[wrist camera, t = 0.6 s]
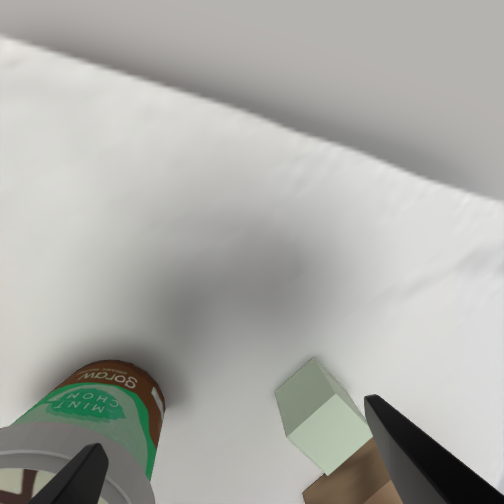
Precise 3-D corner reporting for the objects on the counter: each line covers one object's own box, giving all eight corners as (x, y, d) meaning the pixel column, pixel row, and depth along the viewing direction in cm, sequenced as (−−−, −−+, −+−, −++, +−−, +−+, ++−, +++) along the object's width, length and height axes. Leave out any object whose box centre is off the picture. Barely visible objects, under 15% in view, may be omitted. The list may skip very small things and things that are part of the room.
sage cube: (307, 423, 24) (327, 476, 19) (274, 391, 23) (286, 437, 18) (345, 390, 24) (375, 434, 19) (313, 356, 23) (335, 393, 18)
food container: (181, 346, 22) (140, 450, 12) (181, 408, 23) (143, 554, 13) (33, 348, 21) (-145, 464, 11) (39, 413, 22) (-122, 576, 12)
